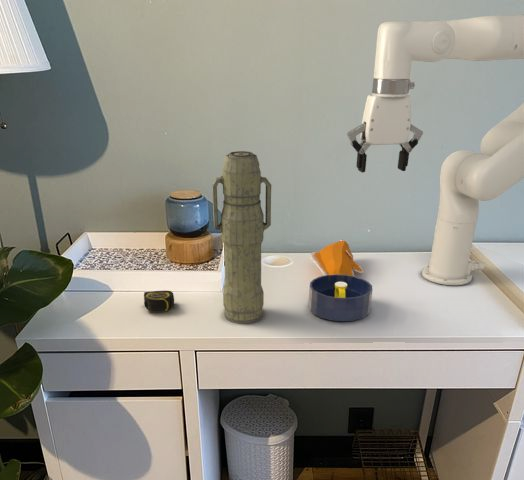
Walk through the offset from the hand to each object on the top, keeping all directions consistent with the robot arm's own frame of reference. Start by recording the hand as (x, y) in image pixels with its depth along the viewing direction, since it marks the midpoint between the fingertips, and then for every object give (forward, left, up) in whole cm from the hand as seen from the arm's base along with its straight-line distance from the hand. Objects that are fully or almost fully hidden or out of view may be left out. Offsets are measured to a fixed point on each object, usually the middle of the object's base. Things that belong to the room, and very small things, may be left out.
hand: (381, 170), depth 127 cm
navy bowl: (+12, +13, -28) cm, 33 cm away
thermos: (+34, +12, -28) cm, 46 cm away
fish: (+7, -6, -28) cm, 30 cm away
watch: (+12, +13, -28) cm, 33 cm away
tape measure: (+53, +5, -28) cm, 60 cm away
